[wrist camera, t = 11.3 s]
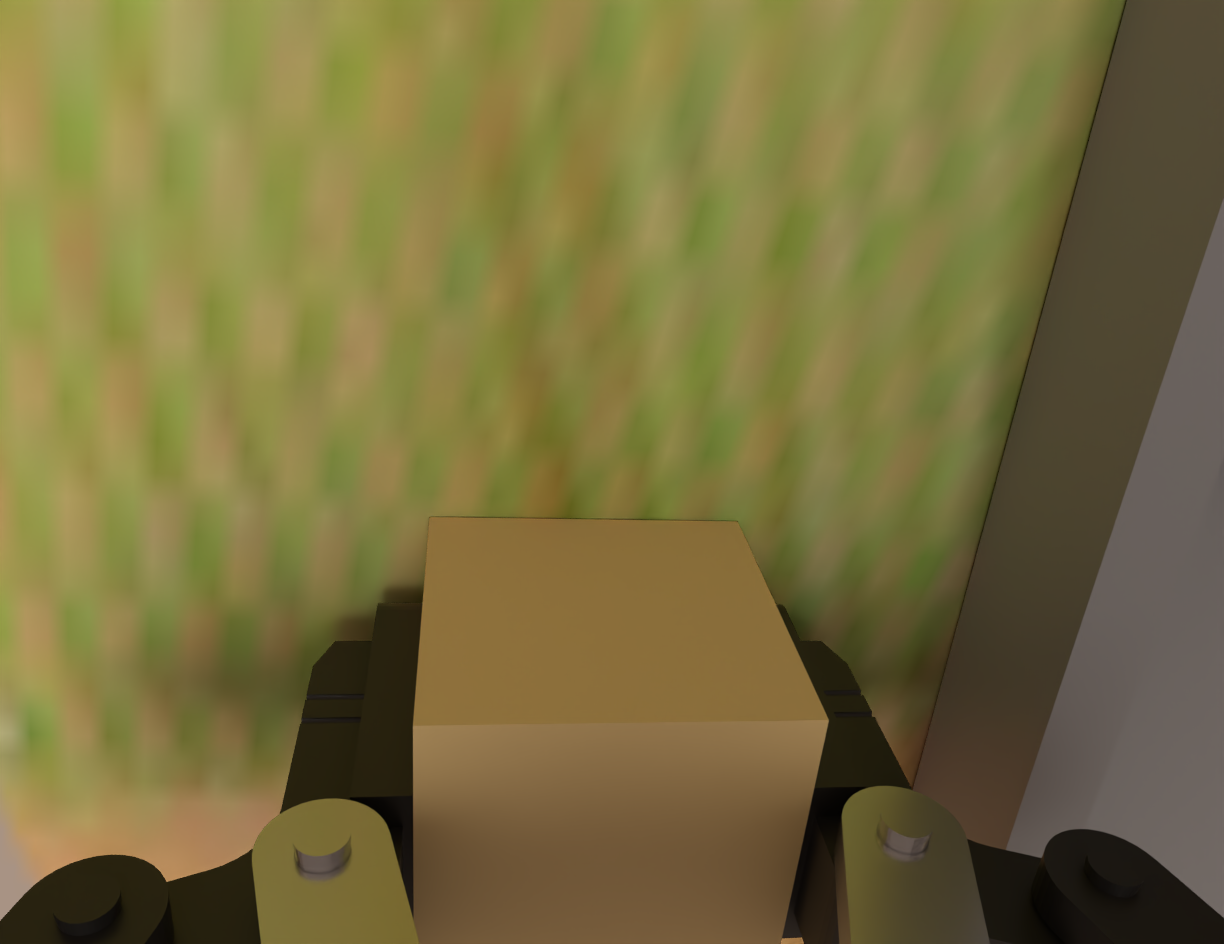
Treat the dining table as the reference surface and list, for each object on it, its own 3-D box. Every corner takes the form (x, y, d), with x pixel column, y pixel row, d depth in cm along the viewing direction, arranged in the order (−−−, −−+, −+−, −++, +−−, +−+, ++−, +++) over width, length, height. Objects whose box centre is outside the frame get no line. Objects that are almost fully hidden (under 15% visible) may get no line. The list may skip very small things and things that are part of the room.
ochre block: (738, 521, 14) (828, 720, 10) (701, 757, 16) (769, 997, 12) (429, 517, 13) (412, 725, 10) (428, 762, 15) (414, 1015, 11)
